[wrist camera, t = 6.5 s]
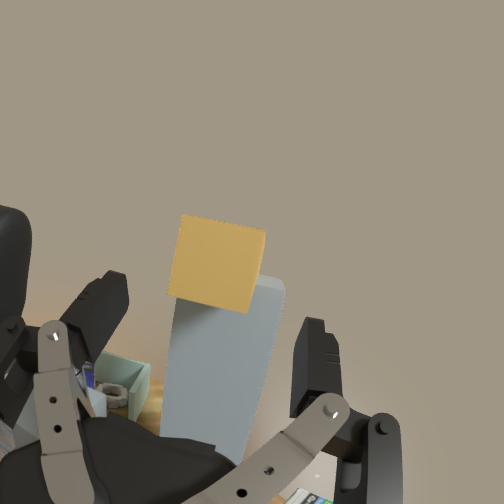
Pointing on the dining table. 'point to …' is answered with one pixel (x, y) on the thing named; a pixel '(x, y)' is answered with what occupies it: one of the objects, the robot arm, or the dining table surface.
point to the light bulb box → (305, 498)
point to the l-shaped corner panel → (123, 382)
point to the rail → (216, 263)
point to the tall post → (219, 368)
